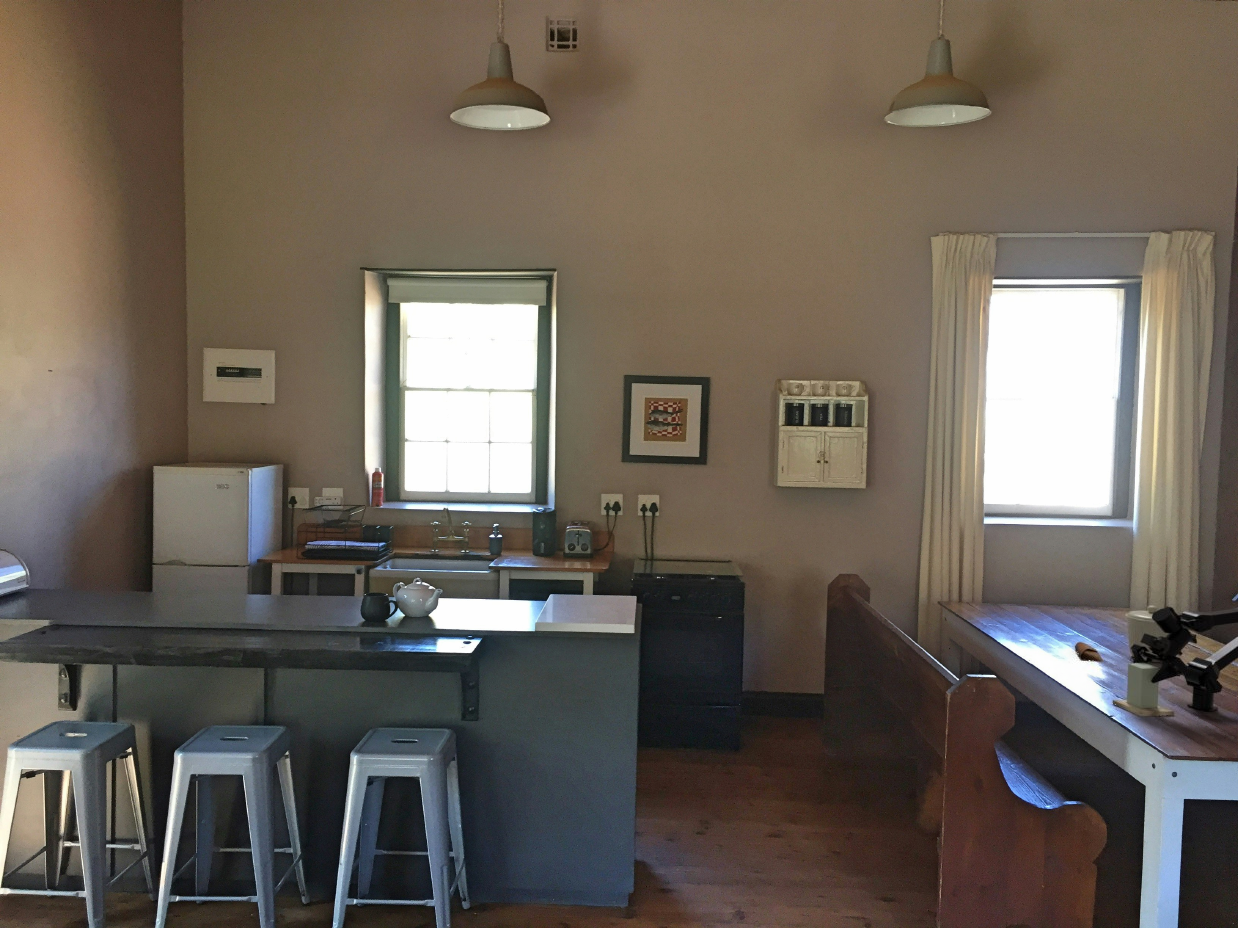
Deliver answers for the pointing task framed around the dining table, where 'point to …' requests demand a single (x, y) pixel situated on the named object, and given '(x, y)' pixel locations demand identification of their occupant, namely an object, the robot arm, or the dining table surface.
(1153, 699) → the sage block
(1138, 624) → the canister
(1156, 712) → the birch slab
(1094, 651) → the brown bread roll
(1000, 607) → the dining table surface
